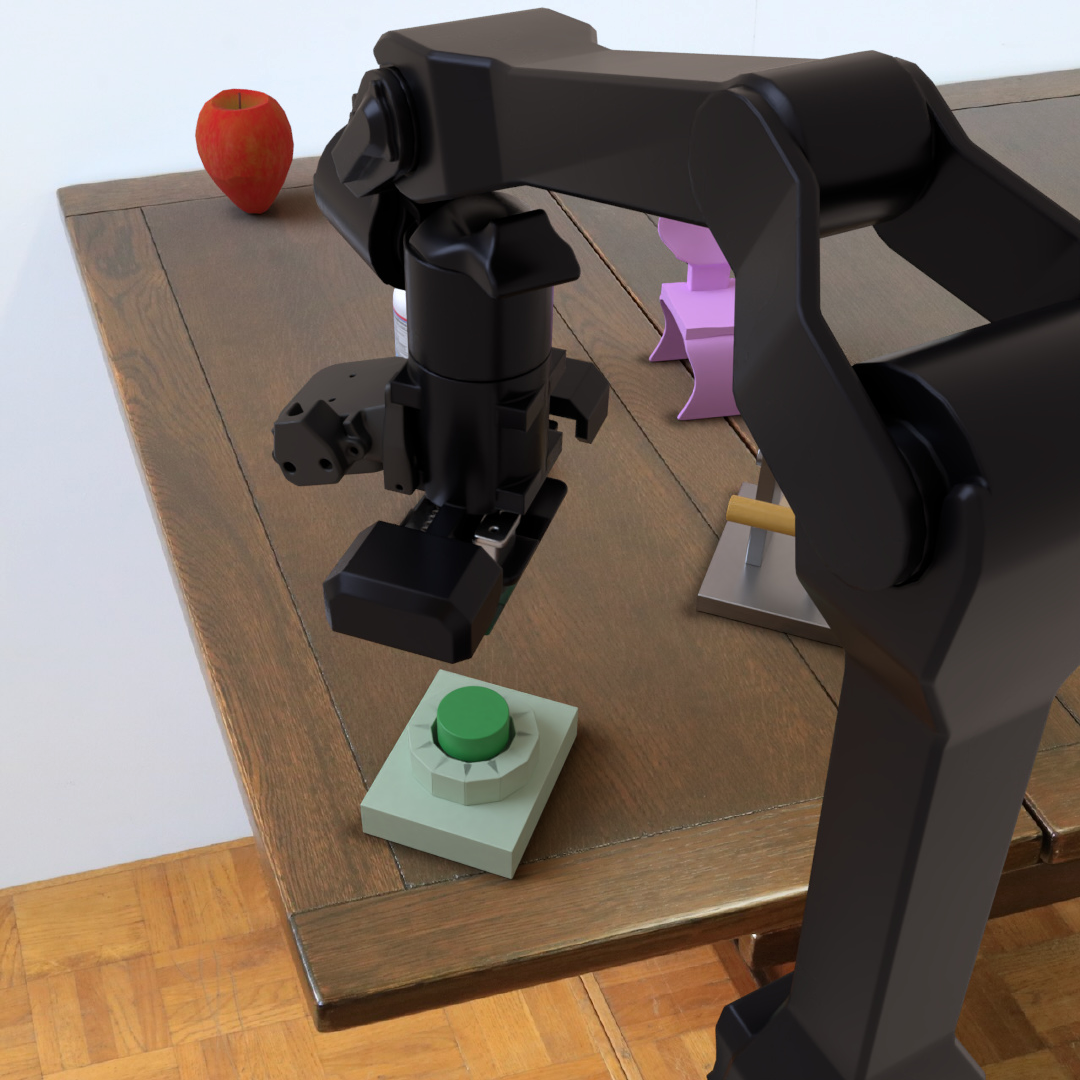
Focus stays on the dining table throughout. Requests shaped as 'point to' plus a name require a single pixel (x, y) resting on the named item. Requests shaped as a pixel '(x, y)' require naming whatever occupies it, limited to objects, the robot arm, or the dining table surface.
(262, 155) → the apple
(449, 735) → the button
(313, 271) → the dining table surface
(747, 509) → the latch lever
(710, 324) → the toy chair
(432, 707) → the push button base
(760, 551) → the latch bracket
